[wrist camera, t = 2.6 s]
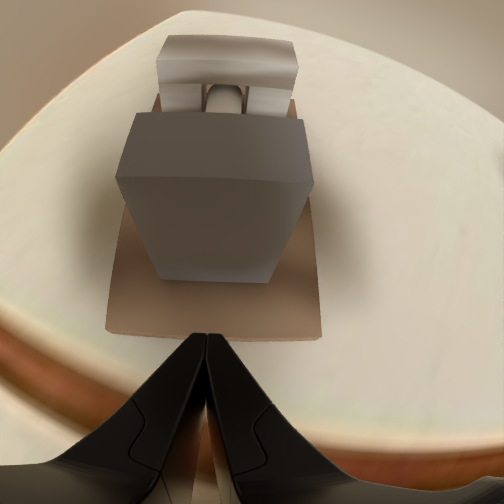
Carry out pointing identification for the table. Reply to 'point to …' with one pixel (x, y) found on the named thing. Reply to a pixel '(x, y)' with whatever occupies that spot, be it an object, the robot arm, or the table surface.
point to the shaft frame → (220, 293)
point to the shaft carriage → (215, 188)
